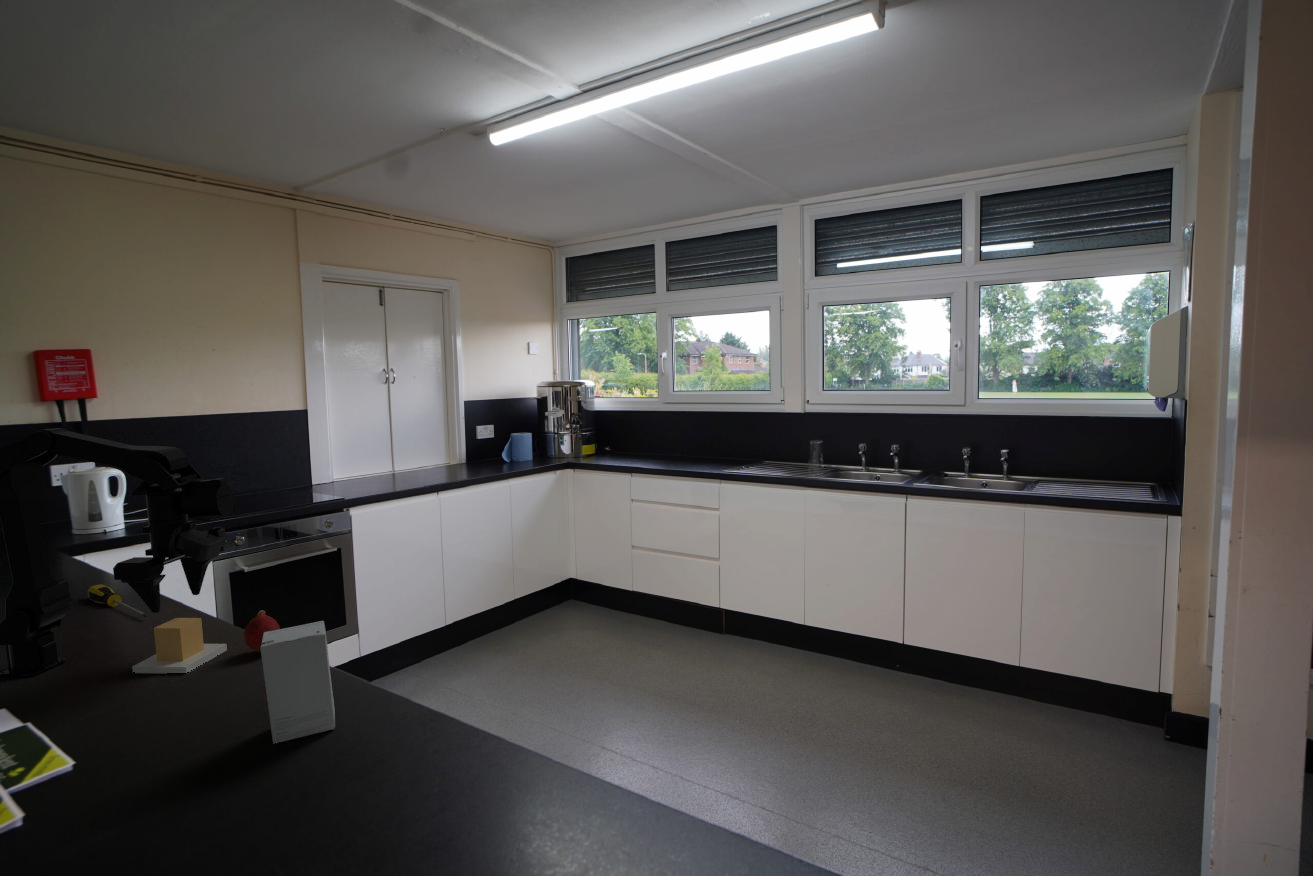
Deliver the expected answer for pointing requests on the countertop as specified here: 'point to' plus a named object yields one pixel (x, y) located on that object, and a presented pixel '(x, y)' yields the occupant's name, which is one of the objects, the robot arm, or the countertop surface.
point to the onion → (259, 630)
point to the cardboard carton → (178, 639)
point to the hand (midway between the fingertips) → (176, 603)
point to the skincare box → (298, 681)
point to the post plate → (180, 666)
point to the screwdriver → (108, 597)
